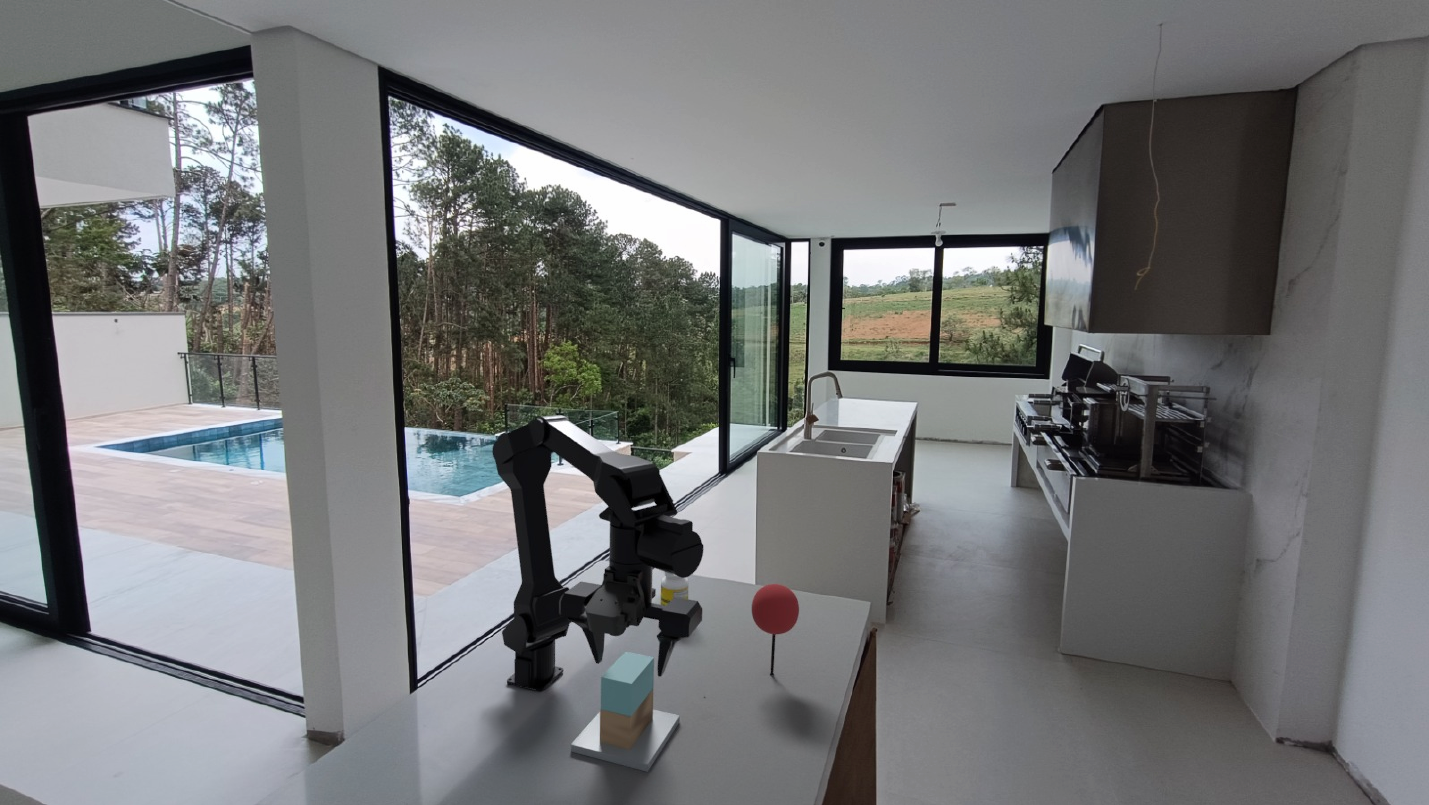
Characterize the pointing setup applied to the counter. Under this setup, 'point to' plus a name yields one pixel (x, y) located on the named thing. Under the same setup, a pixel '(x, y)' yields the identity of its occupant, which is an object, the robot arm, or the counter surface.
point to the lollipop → (775, 611)
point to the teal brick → (627, 683)
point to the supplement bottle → (673, 588)
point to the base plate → (641, 750)
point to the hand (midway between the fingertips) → (629, 668)
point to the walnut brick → (626, 724)
